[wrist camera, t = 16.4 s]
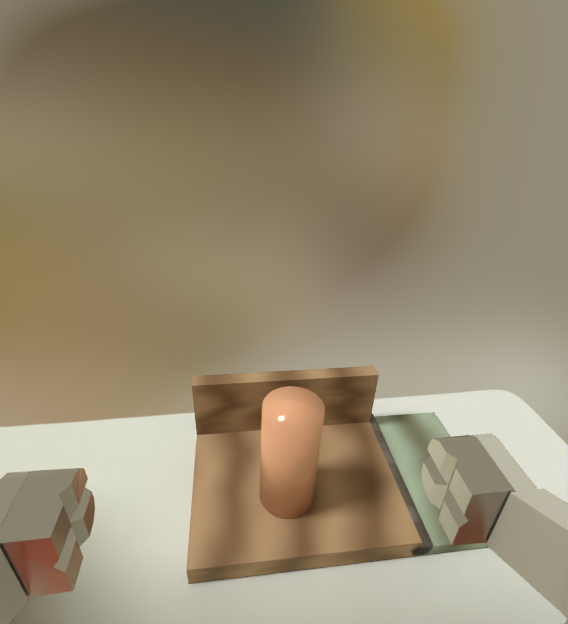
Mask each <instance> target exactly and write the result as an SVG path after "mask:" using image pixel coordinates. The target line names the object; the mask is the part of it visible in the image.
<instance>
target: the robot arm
mask: <svg viewBox="0 0 568 624" xmlns="http://www.w3.org/2000/svg"><path fill="white" fill-rule="evenodd" d="M427 450H428V452H429V453H430V455H431V456H430V457H429V458H428V459H426V460H425V461H424V463H423V467H422V471H421V473H422V483H423V487H424V490H425V493H426V495H427V497H428V499H429V501H430V502H431V503H432V504H434V505H435V506H436V507H438V508H439V509H440V512H439V517H438V519H439V521H440V523H441V525H442V527H443V529H444V531H445V533H446V535H447V537H448V539H449V541H450V543H451V545H452V546H453V545H464V544H476V543H487V544H486V545H487V546H488V547H489V548H490V549H492V550H493V551H494V552H495V553H496V554H497V555H498V556H499V557H500V558H502V559H503V560H504V561H505V562H506V563H507V564H508V565H509V566H510V567H512V568H513V569H514V570H515V571H516V572H517V573H518V574H519V575H520V576H521V577H523V578H524V579H525V580H526V581H527V582H528V583H529V584H530V585H531V586H533V587H534V588H535V589H536V590H537V591H538V592H539V593H540V594H541V595H542V596H544V597H545V598H546V599H547V600H548V601H549V602H550V603H551V604H552V605H554V606H555V607H556V608H557V609H558V610H559V611H560V612H561V613H562V614H564V615H565V616H566V617H567V618H568V503H566V502H565V501H563V500H561V499H560V498H558V497H556V496H555V495H553V494H552V493H550V492H548V491H547V490H545V489H537V487H536V486H535V485H534V484H533V482H532V481H531V480H530V479H529V477H528V476H527V475H526V473H525V472H524V471H523V470H522V468H521V467H520V466H519V465H518V463H517V462H516V461H515V460H514V458H513V457H512V456H511V454H510V453H509V452H508V451H507V449H506V448H505V447H504V446H503V444H502V443H501V442H500V441H499V439H498V438H497V437H496V436H494V435H493V434H480V435H471V436H470V435H465V436H454V437H444V438H434V439H432V440H431V441H430V442H429V446H428V449H427ZM87 479H88V478H87V475H86V473H85V470H84V469H83V468H76V469H58V470H41V471H27V472H12V473H7V474H6V475H5V476H3V477H2V478H1V479H0V624H9V623H10V622H11V620H12V619H13V618H14V617H15V616H16V614H17V613H18V612H19V611H20V610H21V608H22V607H23V606H24V605H25V604H26V602H27V601H28V598H27V597H34V596H40V595H47V594H54V593H61V592H67V591H73V589H74V585H75V582H76V579H77V576H78V572H79V569H80V566H81V563H82V559H83V556H82V553H81V550H80V546H81V545H82V544H83V543H84V542H85V541H86V539H87V538H88V537H89V536H90V533H91V529H92V525H93V520H94V511H95V506H94V498H93V494H92V492H91V491H90V490H88V489H87V488H85V485H86V482H87ZM564 624H568V619H567V621H566V622H565V623H564Z"/></svg>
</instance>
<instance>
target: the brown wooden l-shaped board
mask: <svg viewBox="0 0 568 624" xmlns="http://www.w3.org/2000/svg"><path fill="white" fill-rule="evenodd" d="M377 380H378V373H377V371H376V369H375V368H374V366H367V367H349V368H333V369H332V368H330V369H314V370H313V369H312V370H295V371H277V372H259V373H241V374H223V375H205V376H193V382H192V391H193V401H194V410H195V420H196V430H197V442H196V455H195V468H194V481H193V494H192V507H191V520H190V533H189V546H188V558H187V576H188V582H189V584H190V583H198V582H206V581H214V580H223V579H231V578H239V577H247V576H255V575H264V574H272V573H280V572H288V571H297V570H305V569H313V568H321V567H329V566H338V565H346V564H354V563H362V562H370V561H379V560H387V559H395V558H403V557H412V556H420V555H428V554H436V553H444V552H453V551H461V550H469V549H477V548H486V547H488V546H487V545H486V544H487V543H476V544H464V545H453V546H452V545H451V543H450V541H449V539H448V537H447V535H446V533H445V531H444V529H443V527H442V525H441V523H440V521H439V519H438V517H439V512H440V509H439V508H438V507H436V506H435V505H434V504H432V503H431V502H430V501H429V499H428V497H427V495H426V493H425V490H424V487H423V483H422V473H421V471H422V467H423V463H424V461H425V460H426V459H428V458H429V457H430V456H431V455H430V453H429V452H428V450H427V449H428V446H429V442H430V441H431V440H432V439H434V438H444V437H450V436H449V435H448V433H447V432H446V430H445V429H444V427H443V426H442V424H441V423H440V421H439V419H438V418H437V416H436V415H435V413H434V412H433V413H419V414H405V415H391V416H378V417H374V415H373V414H372V407H373V402H374V396H375V391H376V385H377ZM287 386H295V387H301V388H305V389H308V390H310V391H312V392H314V393H315V394H316V395H318V396H319V397H320V398H321V400H322V401H323V403H324V406H325V414H324V421H323V429H322V437H321V444H320V452H319V459H318V467H317V474H316V482H315V489H314V497H313V502H312V505H311V507H310V508H309V510H308V511H307V512H306V513H304V514H303V515H301V516H299V517H296V518H292V519H283V518H278V517H276V516H274V515H272V514H270V513H269V512H268V511H267V510H266V509H265V508H264V507H263V505H262V503H261V501H260V496H259V489H260V457H261V425H262V403H263V400H264V398H265V397H266V396H267V395H268V394H269V393H270V392H271V391H273V390H275V389H278V388H281V387H287Z"/></svg>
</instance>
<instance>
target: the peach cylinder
mask: <svg viewBox="0 0 568 624" xmlns="http://www.w3.org/2000/svg"><path fill="white" fill-rule="evenodd" d="M324 414H325V406H324V403H323V401H322V400H321V398H320V397H319V396H318V395H316V394H315V393H314V392H312V391H310V390H308V389H305V388H301V387H295V386H287V387H281V388H278V389H275V390H273V391H271V392H270V393H269V394H268V395H267V396H266V397H265V398H264V400H263V403H262V425H261V457H260V489H259V496H260V501H261V503H262V505H263V507H264V508H265V509H266V510H267V511H268V512H269V513H270V514H272V515H274V516H276V517H278V518H283V519H292V518H296V517H299V516H301V515H303V514H304V513H306V512H307V511H308V510H309V508H310V507H311V505H312V502H313V497H314V489H315V482H316V474H317V467H318V459H319V452H320V444H321V437H322V429H323V421H324Z"/></svg>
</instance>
